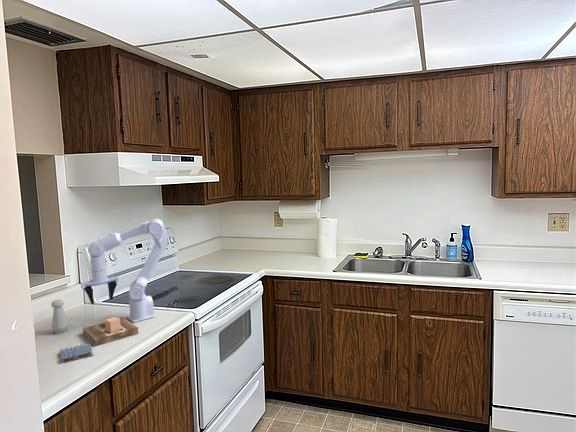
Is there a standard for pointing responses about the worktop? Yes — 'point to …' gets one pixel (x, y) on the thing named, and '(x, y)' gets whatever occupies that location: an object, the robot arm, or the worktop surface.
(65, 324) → the salt shaker
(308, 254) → the worktop surface
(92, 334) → the wooden peg board
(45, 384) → the worktop surface
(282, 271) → the worktop surface
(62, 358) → the woven mat
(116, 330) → the pin
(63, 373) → the worktop surface
